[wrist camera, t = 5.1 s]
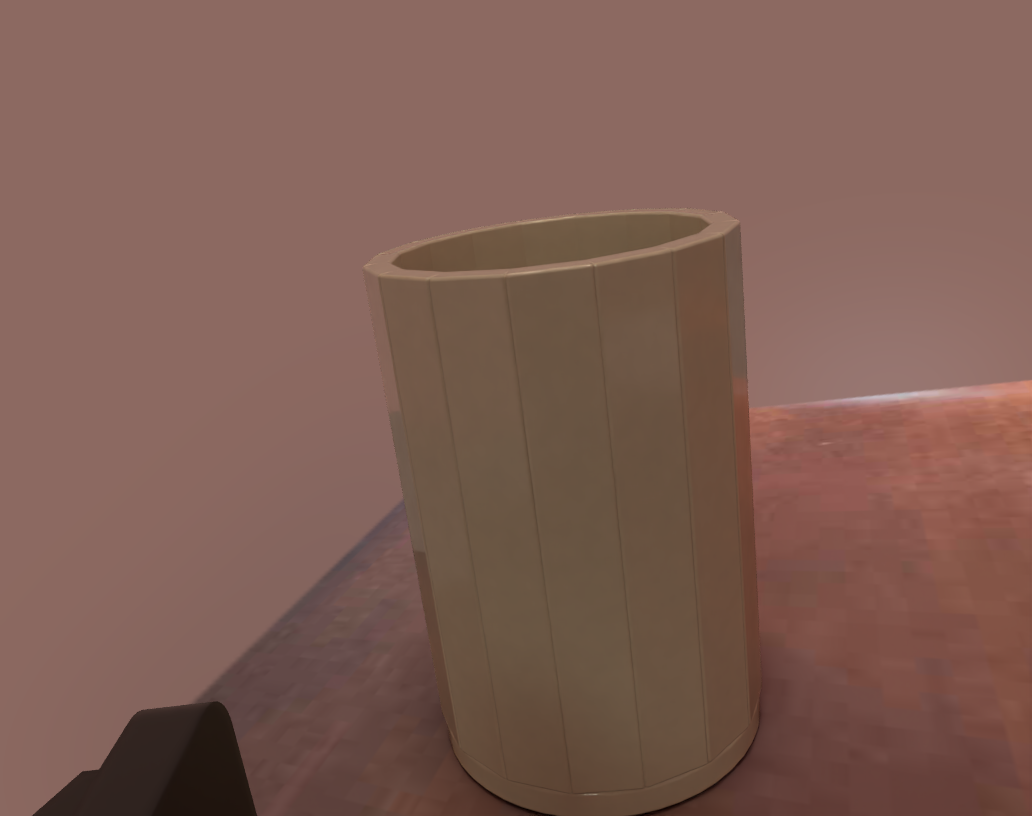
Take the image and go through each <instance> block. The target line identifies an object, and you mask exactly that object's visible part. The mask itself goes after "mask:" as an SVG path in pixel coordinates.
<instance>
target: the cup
mask: <svg viewBox="0 0 1032 816" xmlns="http://www.w3.org/2000/svg"><path fill="white" fill-rule="evenodd" d="M363 274H364V280H365V285H366V291H367V296H368V302H369V307H370V313H371V318H372V324H373V330H374V335H375V341H376V346H377V352H378V357H379V363H380V369H381V374H382V380H383V385H384V391H385V397H386V402H387V408H388V413H389V419H390V424H391V429H392V436H393V441H394V447H395V452H396V458H397V464H398V469H399V475H400V480H401V486H402V491H403V497H404V503H405V508H406V514H407V519H408V525H409V530H410V536H411V542H412V547H413V553H414V558H415V564H416V570H417V575H418V581H419V586H420V592H421V597H422V603H423V609H424V614H425V620H426V625H427V631H428V636H429V642H430V648H431V653H432V659H433V664H434V670H435V675H436V681H437V687H438V692H439V698H440V703H441V709H442V714H443V716H444V718H445V720H446V722H447V727H448V732H449V738H450V742H451V745H452V748H453V750H454V753H455V755H456V756H457V758H458V760H459V761H460V763H461V765H462V766H463V767H464V769H465V770H466V771H467V772H468V773H469V774H470V775H471V776H472V778H473V779H474V780H476V781H477V782H478V783H479V784H481V785H482V786H483V787H484V788H485V789H487V790H488V791H490V792H492V793H493V794H495V795H497V796H498V797H500V798H502V799H503V800H506V801H508V802H510V803H513V804H515V805H518V806H520V807H522V808H526V809H529V810H533V811H536V812H540V813H543V814H549V815H555V816H633V815H638V814H643V813H647V812H652V811H656V810H660V809H663V808H665V807H668V806H671V805H674V804H677V803H680V802H682V801H684V800H686V799H688V798H691V797H693V796H695V795H697V794H699V793H701V792H702V791H704V790H706V789H707V788H709V787H710V786H712V785H714V784H715V783H717V782H718V781H719V780H720V779H722V778H723V777H724V776H725V775H726V774H728V773H729V772H730V771H731V770H732V769H733V768H734V767H735V766H736V765H737V763H738V762H739V761H740V760H741V759H742V758H743V756H744V755H745V753H746V752H747V750H748V749H749V747H750V745H751V744H752V742H753V739H754V737H755V734H756V732H757V729H758V724H759V719H760V697H759V694H760V690H761V687H762V677H761V656H760V634H759V613H758V592H757V571H756V550H755V529H754V507H753V486H752V465H751V444H750V423H749V402H748V380H747V359H746V339H745V319H744V318H745V317H744V296H743V275H742V254H741V232H740V222H739V220H737V219H735V218H734V217H732V216H730V215H729V214H727V213H724V212H720V211H710V210H699V209H690V208H687V209H685V208H669V209H668V208H667V209H666V208H665V209H635V210H634V209H629V210H615V211H603V212H589V213H579V214H568V215H561V216H553V217H545V218H536V219H528V220H521V221H514V222H508V223H502V224H497V225H491V226H484V227H479V228H473V229H467V230H463V231H457V232H453V233H448V234H444V235H440V236H436V237H431V238H427V239H423V240H419V241H414V242H411V243H408V244H405V245H402V246H399V247H397V248H394V249H391V250H388V251H385V252H382V253H379V254H377V255H376V256H374V257H373V258H372V259H371V260H370V261H369V262H368V263H366V264H365V265H364V266H363Z"/></svg>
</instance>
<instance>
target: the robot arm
mask: <svg viewBox="0 0 1032 816" xmlns="http://www.w3.org/2000/svg"><path fill="white" fill-rule="evenodd" d="M33 816H257V814H256V810H255V806H254V803H253V799H252V795H251V792H250V788H249V784H248V780H247V777H246V773H245V769H244V766H243V762H242V758H241V754H240V751H239V747H238V743H237V740H236V736H235V732H234V728H233V725H232V721H231V718H230V716H229V713H228V711H227V709H226V708H225V706H224V705H223V704H221V703H220V702H207V703H198V704H190V705H181V706H174V707H164V708H156V709H147V710H141V711H139V712H137V713H136V714H135V715H134V716H133V717H132V718H131V720H130V721H129V723H128V724H127V726H126V727H125V729H124V731H123V732H122V734H121V735H120V737H119V739H118V740H117V742H116V744H115V745H114V747H113V748H112V750H111V752H110V753H109V755H108V756H107V758H106V760H105V761H104V763H103V764H102V766H101V768H100V769H99V770H92V771H83V772H81V773H80V774H79V775H78V776H77V777H76V778H74V779H73V780H72V781H71V782H70V783H69V784H68V785H67V786H65V787H64V788H63V789H62V790H61V791H60V792H59V793H57V794H56V795H55V796H54V797H53V798H52V799H51V800H49V801H48V802H47V803H46V804H45V805H44V806H43V807H42V808H40V809H39V810H38V811H37V812H36V813H35V814H34V815H33Z"/></svg>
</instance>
